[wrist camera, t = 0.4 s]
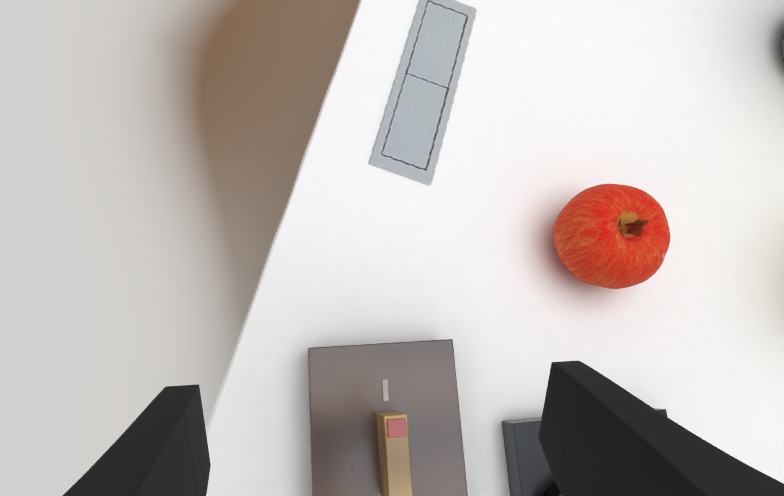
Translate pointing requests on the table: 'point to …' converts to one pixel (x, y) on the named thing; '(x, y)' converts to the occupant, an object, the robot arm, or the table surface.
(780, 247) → the table surface
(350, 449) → the lock plate
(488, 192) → the table surface
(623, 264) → the apple
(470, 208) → the table surface
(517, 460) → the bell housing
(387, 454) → the wooden block
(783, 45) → the vase
